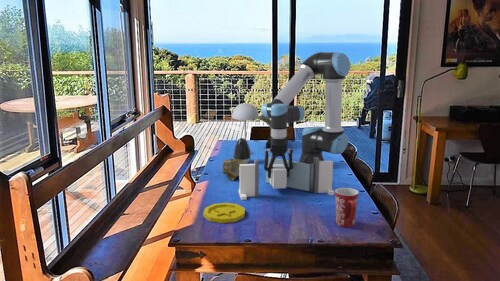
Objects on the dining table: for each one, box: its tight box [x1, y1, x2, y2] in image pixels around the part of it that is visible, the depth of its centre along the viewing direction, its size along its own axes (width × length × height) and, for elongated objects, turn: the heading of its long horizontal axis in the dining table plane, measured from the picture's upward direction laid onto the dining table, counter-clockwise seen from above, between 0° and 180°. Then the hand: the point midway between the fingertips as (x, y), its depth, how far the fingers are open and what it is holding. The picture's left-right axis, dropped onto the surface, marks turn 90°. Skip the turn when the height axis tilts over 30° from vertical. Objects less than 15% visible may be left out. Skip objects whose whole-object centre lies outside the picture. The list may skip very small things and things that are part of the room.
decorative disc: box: [203, 202, 246, 224], centre depth 172 cm, size 17×18×2 cm
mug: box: [334, 187, 360, 228], centre depth 160 cm, size 13×9×14 cm
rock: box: [222, 158, 249, 182], centre depth 220 cm, size 19×10×10 cm
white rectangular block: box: [271, 164, 287, 190], centre depth 198 cm, size 6×10×9 cm, turn 5°
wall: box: [238, 157, 336, 201], centre depth 194 cm, size 44×10×17 cm, turn 98°
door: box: [265, 156, 314, 193], centre depth 202 cm, size 26×3×14 cm, turn 56°
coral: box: [258, 114, 289, 149], centre depth 287 cm, size 25×20×22 cm
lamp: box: [231, 102, 259, 155], centre depth 264 cm, size 17×17×33 cm
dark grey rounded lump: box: [232, 137, 252, 164], centre depth 244 cm, size 10×10×15 cm
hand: (278, 183), depth 200 cm, fingers closed on white rectangular block, 6 cm apart
